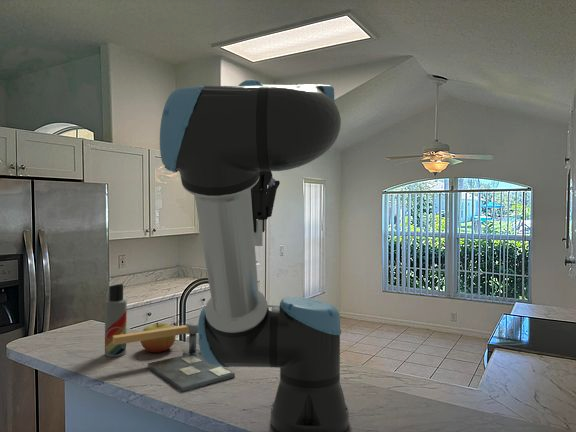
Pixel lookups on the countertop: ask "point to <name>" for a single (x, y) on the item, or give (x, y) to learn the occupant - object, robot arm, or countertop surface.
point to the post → (192, 345)
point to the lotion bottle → (115, 320)
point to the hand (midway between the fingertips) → (256, 245)
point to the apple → (158, 339)
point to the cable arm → (155, 333)
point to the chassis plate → (189, 371)
